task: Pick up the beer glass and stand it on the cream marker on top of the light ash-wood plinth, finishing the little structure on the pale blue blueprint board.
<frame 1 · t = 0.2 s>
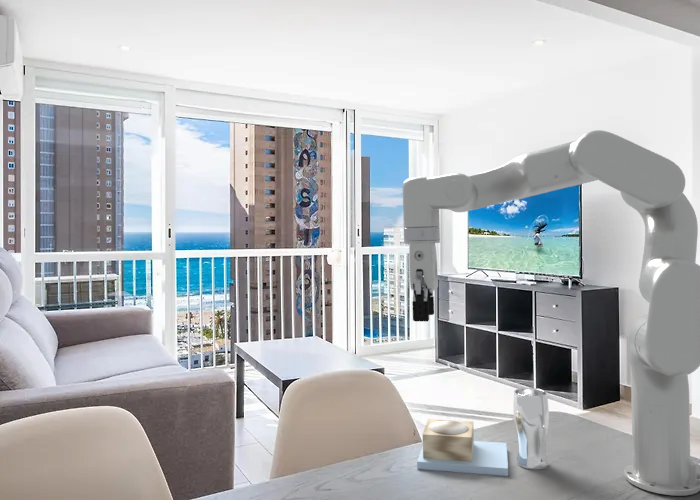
hand: (423, 317, 114), 31 cm above the table, fingers open, 9 cm apart
blueprint board: (463, 458, 116), on the table
plinth: (449, 450, 117), resting on blueprint board
beer glass: (532, 464, 112), on the table
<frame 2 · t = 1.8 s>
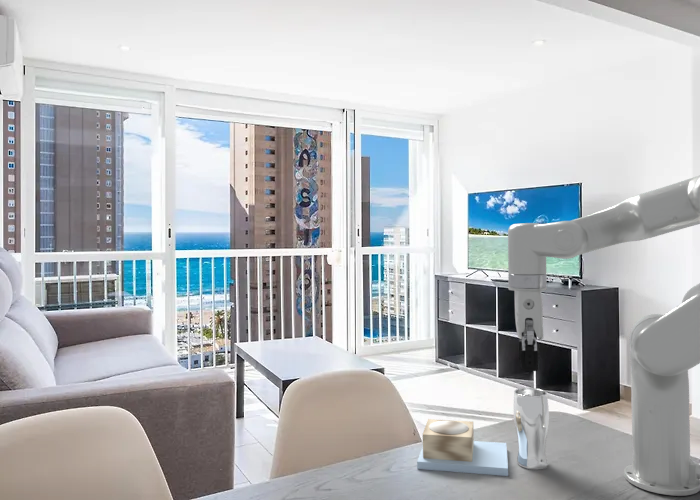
hand: (528, 365, 112), 21 cm above the table, fingers open, 9 cm apart
nothing on the table moved.
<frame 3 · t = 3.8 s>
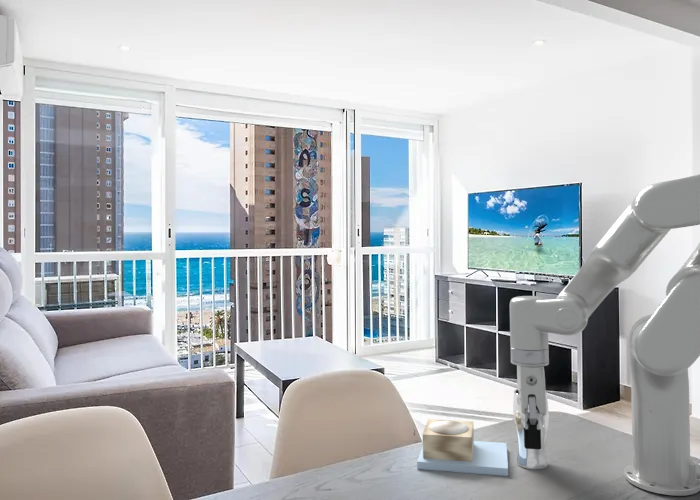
hand: (531, 441, 112), 5 cm above the table, fingers closed on beer glass, 6 cm apart
beer glass: (532, 464, 112), on the table, touching gripper
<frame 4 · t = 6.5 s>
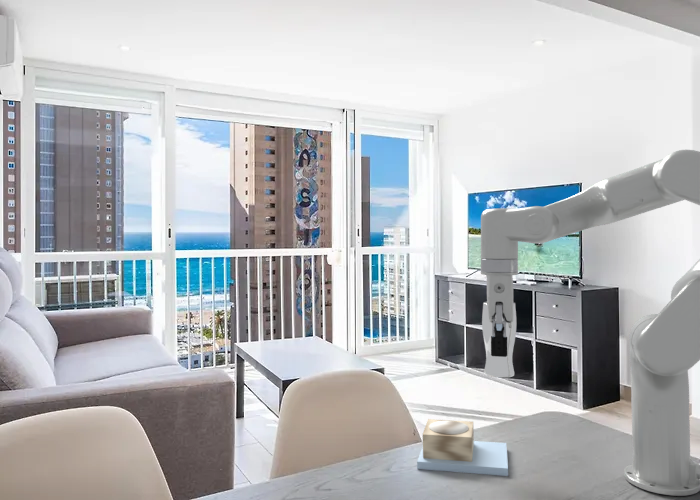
hand: (498, 351, 114), 23 cm above the table, fingers closed on beer glass, 6 cm apart
beer glass: (499, 375, 114), point 18 cm above the table, touching gripper
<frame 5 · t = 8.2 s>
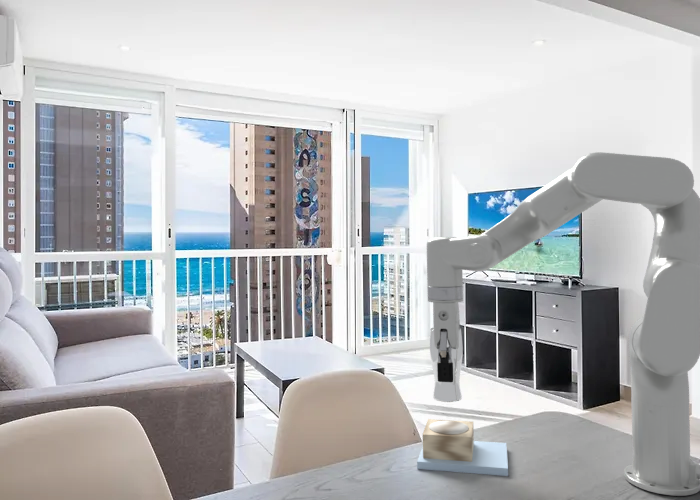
hand: (446, 376, 116), 18 cm above the table, fingers closed on beer glass, 6 cm apart
beer glass: (447, 399, 117), point 13 cm above the table, touching gripper
when the fingers open (12 cm above the table, at t = 9.6 s): beer glass stays where it is, resting on plinth.
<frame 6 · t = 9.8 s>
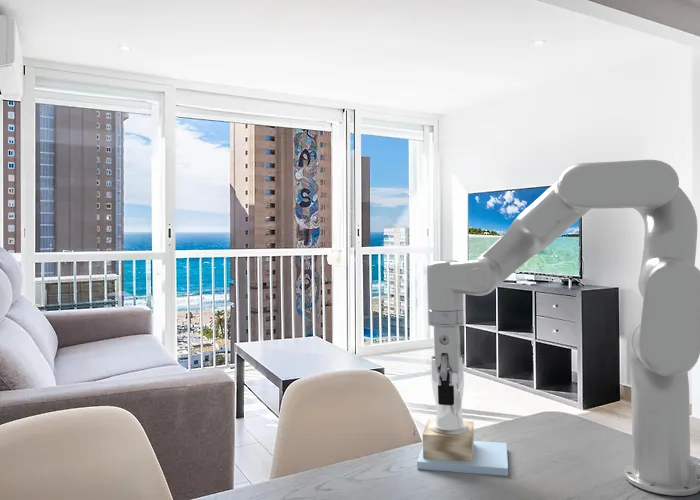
hand: (447, 398, 116), 13 cm above the table, fingers open, 8 cm apart
beer glass: (449, 427, 116), point 7 cm above the table, touching plinth
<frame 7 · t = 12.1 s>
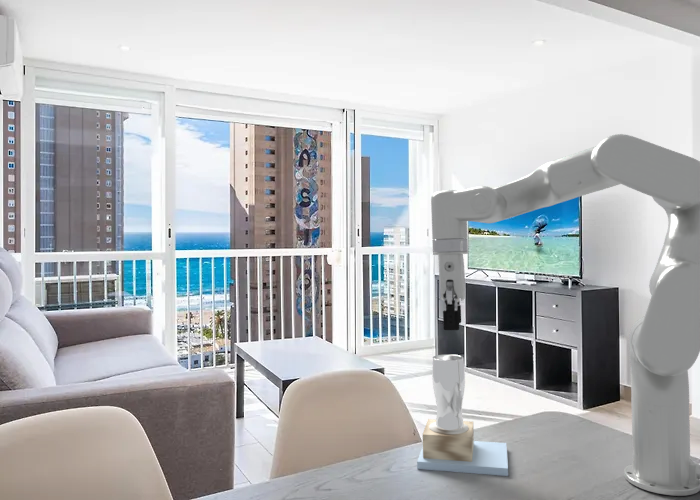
hand: (452, 326, 117), 28 cm above the table, fingers open, 9 cm apart
nothing on the table moved.
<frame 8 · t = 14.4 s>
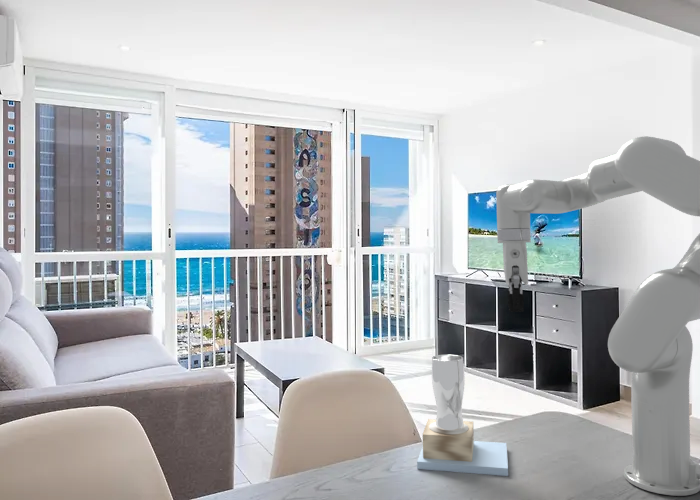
hand: (515, 309, 128), 30 cm above the table, fingers open, 9 cm apart
nothing on the table moved.
at the end: beer glass 0.3 cm off-centre on the plinth, point 5.0 cm above the plinth's base; beer glass tilted 0°; the gripper is holding nothing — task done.
